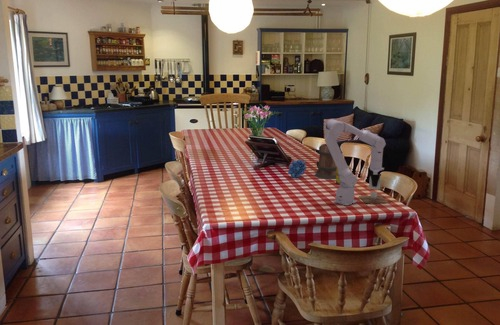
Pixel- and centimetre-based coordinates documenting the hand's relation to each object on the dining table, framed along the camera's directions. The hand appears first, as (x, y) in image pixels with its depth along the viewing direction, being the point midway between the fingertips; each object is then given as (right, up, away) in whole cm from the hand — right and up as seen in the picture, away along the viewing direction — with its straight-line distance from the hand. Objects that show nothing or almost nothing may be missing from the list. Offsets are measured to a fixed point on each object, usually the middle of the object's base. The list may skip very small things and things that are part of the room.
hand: (374, 184), depth 237 cm
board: (0, -8, +2) cm, 8 cm away
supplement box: (-10, -1, +33) cm, 35 cm away
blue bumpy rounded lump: (-36, +2, +47) cm, 59 cm away
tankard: (-17, +4, +54) cm, 57 cm away
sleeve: (0, -1, 0) cm, 1 cm away
